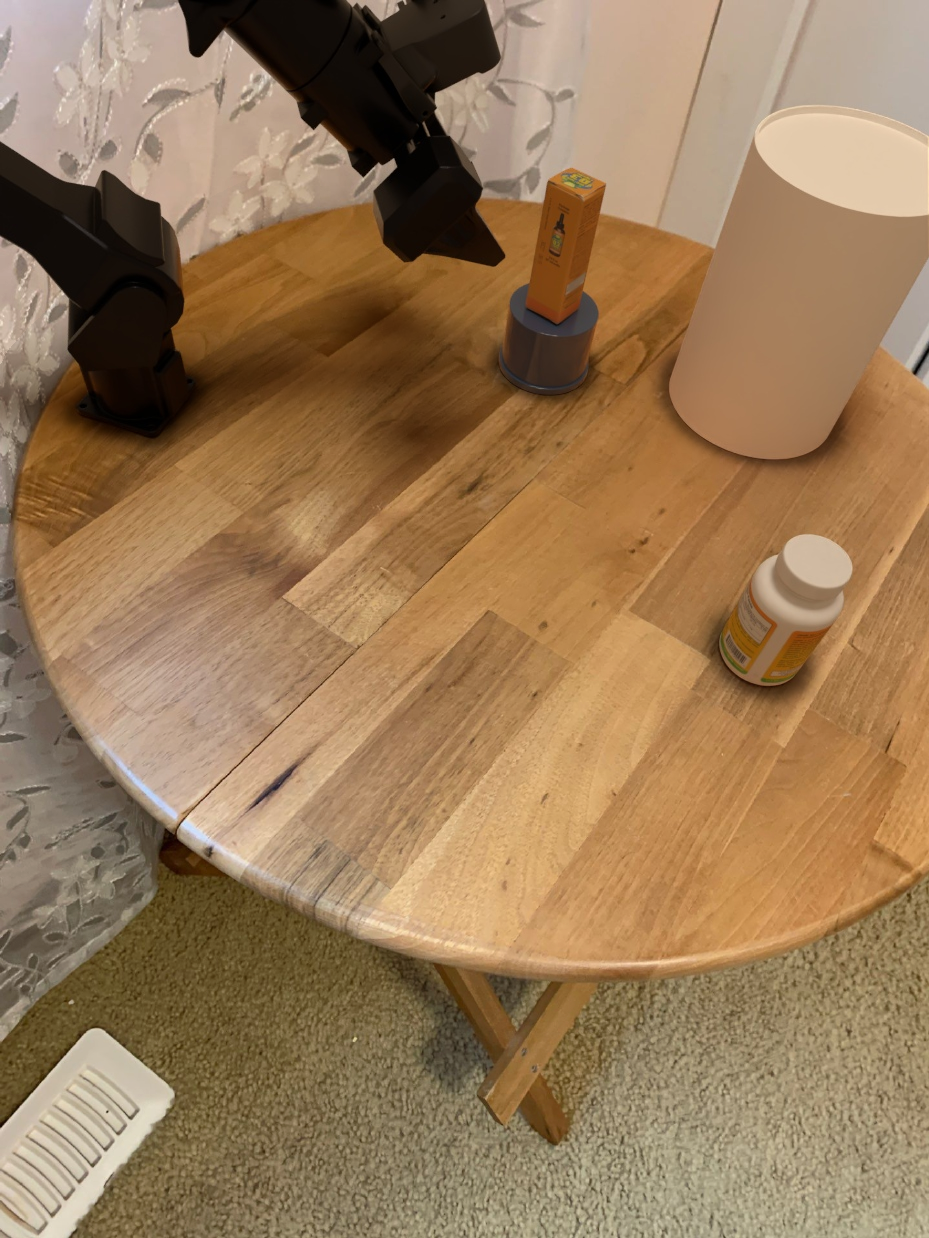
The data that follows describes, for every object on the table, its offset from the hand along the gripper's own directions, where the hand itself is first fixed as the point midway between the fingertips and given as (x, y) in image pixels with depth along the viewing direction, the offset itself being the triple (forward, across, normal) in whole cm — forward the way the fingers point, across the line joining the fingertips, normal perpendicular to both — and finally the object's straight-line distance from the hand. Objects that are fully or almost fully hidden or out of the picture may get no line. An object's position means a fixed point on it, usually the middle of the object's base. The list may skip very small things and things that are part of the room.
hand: (483, 221), depth 61 cm
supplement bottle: (+18, -30, 0) cm, 35 cm away
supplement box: (+10, 0, +1) cm, 10 cm away
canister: (+25, -6, -7) cm, 27 cm away
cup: (+14, 0, +4) cm, 15 cm away
